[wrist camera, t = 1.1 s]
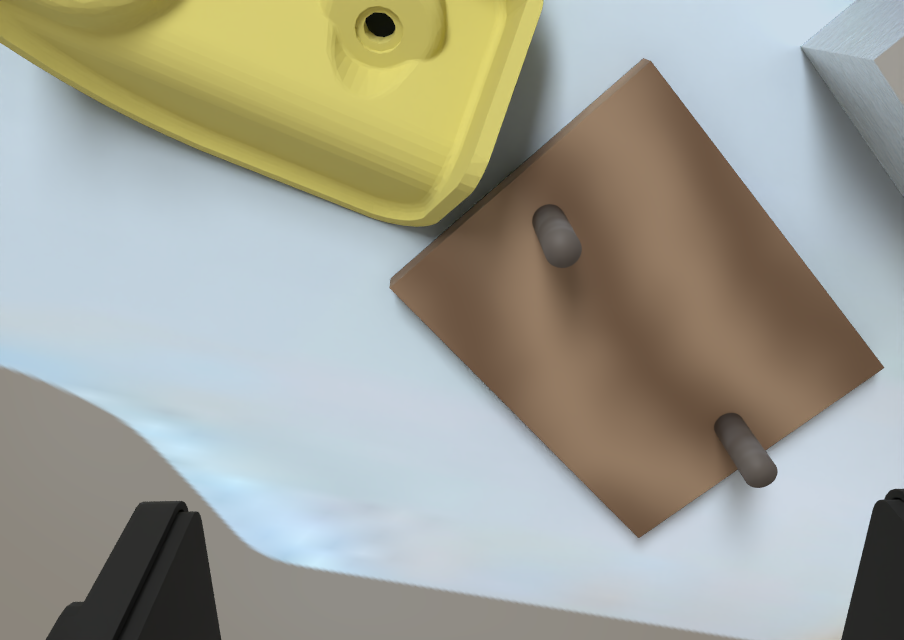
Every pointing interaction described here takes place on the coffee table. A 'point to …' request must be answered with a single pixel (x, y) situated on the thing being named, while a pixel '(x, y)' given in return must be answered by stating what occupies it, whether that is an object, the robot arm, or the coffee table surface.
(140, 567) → the robot arm
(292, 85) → the plastic component
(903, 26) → the block
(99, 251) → the coffee table surface
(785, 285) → the pin tray
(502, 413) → the coffee table surface
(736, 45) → the coffee table surface
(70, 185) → the coffee table surface
